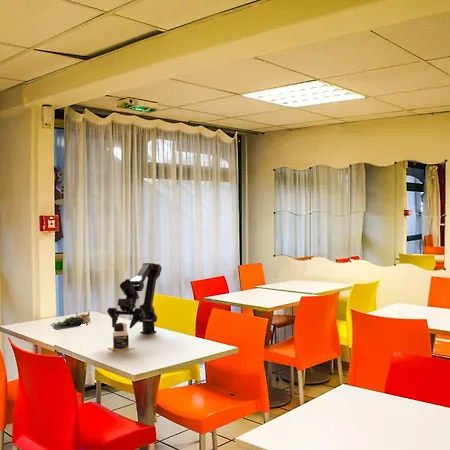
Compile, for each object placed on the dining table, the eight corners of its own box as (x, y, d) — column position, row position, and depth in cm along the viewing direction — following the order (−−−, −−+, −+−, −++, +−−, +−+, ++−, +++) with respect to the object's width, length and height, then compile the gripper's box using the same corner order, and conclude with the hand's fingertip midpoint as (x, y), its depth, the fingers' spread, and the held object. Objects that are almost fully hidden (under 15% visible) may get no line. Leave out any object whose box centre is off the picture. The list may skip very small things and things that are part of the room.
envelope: (107, 348, 255) (107, 347, 255) (121, 345, 261) (121, 344, 261) (121, 352, 248) (121, 351, 248) (135, 348, 254) (135, 347, 254)
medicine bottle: (113, 350, 250) (113, 325, 249) (113, 346, 257) (112, 322, 256) (128, 349, 251) (128, 324, 251) (127, 345, 258) (127, 321, 258)
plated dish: (91, 316, 338) (90, 305, 338) (111, 324, 316) (110, 312, 316) (37, 326, 316) (36, 314, 316) (54, 334, 294) (54, 321, 294)
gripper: (108, 291, 262) (98, 318, 252) (142, 292, 257) (133, 319, 247) (115, 304, 270) (106, 330, 259) (149, 305, 265) (141, 331, 255)
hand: (121, 327), depth 255 cm, fingers open, 9 cm apart
